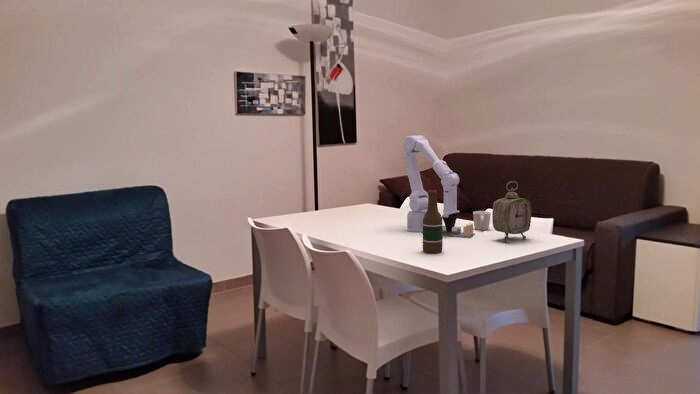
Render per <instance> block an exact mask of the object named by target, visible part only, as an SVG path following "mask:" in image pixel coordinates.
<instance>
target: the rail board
mask: <svg viewBox="0 0 700 394" xmlns="http://www.w3.org/2000/svg"><path fill="white" fill-rule="evenodd" d="M475 235H476V234H475V233H474V222H473V223H472V222H471V223H470V222H469V223H468V224H465V225H464V226H463V231H461V233H460V234H458V233H443V232H442V237H449V238H464V239H465V238H466V239H471V238H473V236H475Z"/></svg>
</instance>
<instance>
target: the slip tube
mask: <svg viewBox="0 0 700 394" xmlns="http://www.w3.org/2000/svg"><path fill="white" fill-rule="evenodd" d="M442 232H443V233H458V234H460V233H461V232H462V228H461V226H452V231H451V232H447V231H446V227H445V225H443V230H442Z"/></svg>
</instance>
